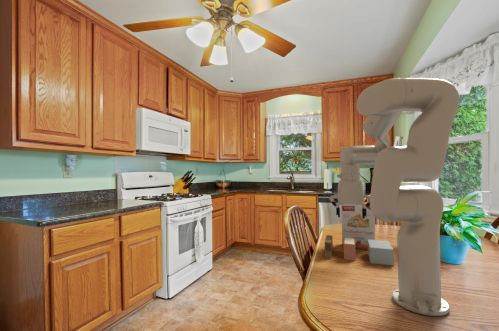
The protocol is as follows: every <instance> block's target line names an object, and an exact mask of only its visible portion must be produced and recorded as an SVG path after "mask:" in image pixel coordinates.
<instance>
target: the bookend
mask: <svg viewBox="0 0 499 331" xmlns="http://www.w3.org/2000/svg"><path fill="white" fill-rule="evenodd" d="M333 244H334V243H333V235H329V234H327V235H325V239H324V258H325V259H332V256H333V249H334V247H333V246H334V245H333Z"/></svg>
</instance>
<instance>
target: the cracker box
mask: <svg viewBox="0 0 499 331" xmlns="http://www.w3.org/2000/svg"><path fill="white" fill-rule="evenodd" d="M366 203H368V201H366V202H365V201H364V204H366ZM362 208H363V207H362V205H361V204H341V244H342V247H343V248H344V237H346V238H355V249H367V250H368V239H369V240H376V234H375V233H376V232H375V228H376V227H375V226H376V225H375V220H376V218H375V217H374V215H373V214H372V211H371V208H370V206H369V207H368V208H367V209H366V216H365V219H363V218H362Z"/></svg>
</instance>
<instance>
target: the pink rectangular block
mask: <svg viewBox="0 0 499 331" xmlns="http://www.w3.org/2000/svg"><path fill="white" fill-rule="evenodd" d="M356 249H357V248H355V238H346V237H344V247H343V260H346V261H354V262H355V261H357V259H356V258H357V257H356V253H357V252H356Z"/></svg>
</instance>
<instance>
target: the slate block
mask: <svg viewBox="0 0 499 331" xmlns="http://www.w3.org/2000/svg"><path fill="white" fill-rule="evenodd" d="M394 250H395V249H394V248H393V247H392V245H391V243H390V241H389V240H381V239H378V240H377V239H375V240H369V239H368V249H367V255H368V258H369V262H370V264H375V265H377V264H378V265H385V266H395V258H394V257H395V254H394V252H395V251H394Z"/></svg>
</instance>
